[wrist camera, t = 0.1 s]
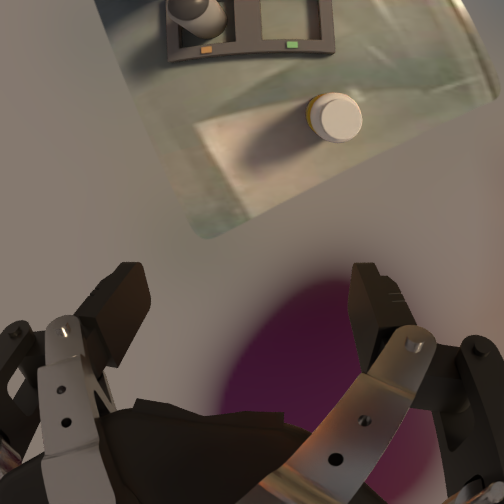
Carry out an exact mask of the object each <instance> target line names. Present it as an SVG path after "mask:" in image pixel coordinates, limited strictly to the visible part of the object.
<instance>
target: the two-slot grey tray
mask: <svg viewBox="0 0 504 504" xmlns="http://www.w3.org/2000/svg"><path fill="white" fill-rule="evenodd" d="M168 1H169V0H166V32H167V58H168V62H171V63H174V62H180V61H186V60H193V59H201V58H209V57H218V56H229V55H241V54H259V53H321V54H334V53H335V36H334V22H333V10H332V0H318V12H319V25H320V40H301V39H278V40H262V24H261V6H260V0H234V12H235V33H236V42H225V43H216V44H207V45H200V46H193V47H186V48H182V26H180V25H179V24H177V23H176V22H174V21H173V20H172V19H171V18H170V17H169V15H168V13H167V3H168Z"/></svg>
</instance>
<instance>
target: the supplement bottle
mask: <svg viewBox="0 0 504 504" xmlns="http://www.w3.org/2000/svg"><path fill="white" fill-rule="evenodd" d="M306 120H307V123H308V125H309V126H310V128H311V129H312V130H313V131H314V132H315V133H316V134H317V135H319V136H320V137H321V138H323V139H324V140H326V141H329V142H333V143H343V142H346V141H349V140H351V139H352V138H353V137H355V136H356V135H357V133H358V132H359V131H360V129H361V126H362V115H361V111H360V108H359V106H358V105H357V103H356V102H355V101H354V100H353V99H352V98H350V97H349V96H347V95H345V94H341V93H326V94H321V95H318V96H316V97H314V98H313V99H312V100H311V101H310V102H309V104H308V105H307V108H306Z"/></svg>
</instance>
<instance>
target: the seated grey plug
mask: <svg viewBox="0 0 504 504" xmlns="http://www.w3.org/2000/svg"><path fill="white" fill-rule="evenodd" d="M167 13H168V15H169V17H170V18H171V19H172V20H173V21H174V22H176V23H177V24H179V25H180V26H182V27H183V28H185V29H186V30H188V31H189V32H191V33H192V34H194V35H195V36H197V37H199V38H202V39H211V38H215V37H217V36H219V35H220V34H221V33H222V32H223V31H224V30H225V28H226V26H227V23H228V19H227V16H226V14H225V12H224V11H223V9H222V8H221V7H220V5H219V4H218V2H217V1H216V0H169V1H168V3H167Z"/></svg>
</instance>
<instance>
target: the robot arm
mask: <svg viewBox="0 0 504 504" xmlns="http://www.w3.org/2000/svg"><path fill="white" fill-rule="evenodd" d="M150 305H151V296H150V292H149V288H148V284H147V280H146V277H145V273H144V268H143V266H142V264H141V263H140V262H122V263H121V264H120V265H119V266H118V267H117V268H116V270H115V271H114V272H113V273H112V274H110V275H109V276H107V277H106V278H105V279H103V280H101V281H100V283H99V284H98V285H97V286H96V288H95V290H93V291H92V292H91V293H90V296H88V297H87V298H86V300H85V301H84V302H83V303H82V305H81V306H80V307H79V308H78V309H77V311H76V312H75V313H74V315H64V316H61V317H58V318H56V319H55V320H53V321H52V322H51V323H50V324H49V325H48V326H47V328H46V330H45V331H37V332H33V331H32V329H31V327H30V325H29V323H28V322H27V321H23V320H21V321H16V322H14V323H12V324H10V325H9V326H7V327H6V328H5V330H3V332H2V333H1V334H0V504H387V502H386V501H384V500H383V499H382V498H381V497H380V496H379V495H378V494H377V493H376V492H375V491H373V490H372V489H371V488H370V487H369V486H368V485H367V484H366V483H365V482H364V481H365V480H366V478H367V477H368V475H369V473H370V472H371V471H372V469H373V468H374V466H375V465H376V463H377V462H378V460H379V459H380V457H381V456H382V454H383V453H384V451H385V449H386V448H387V446H388V444H389V443H390V441H391V440H392V438H393V436H394V434H395V433H396V431H397V429H398V428H399V425H400V424H401V422H402V420H403V419H404V417H405V415H406V413H407V411H408V409H409V408H417V409H423V410H431V411H432V415H433V420H434V424H435V428H436V433H437V438H438V442H439V447H440V452H441V458H442V463H443V469H444V475H445V482H446V489H447V496H448V499H446V500H445V501H444V502H443V503H442V504H504V360H503V358H502V356H501V355H500V352H499V351H498V348H497V347H496V345H495V344H494V343H493V342H492V341H491V340H489V339H487V338H486V337H483V336H479V335H471V336H468V337H466V338H465V339H464V340H463V341H462V343H461V345H460V347H454V346H448V345H441V344H438V343H437V342H436V339H435V337H434V336H433V334H432V333H431V332H429V331H428V330H426V329H425V328H423V327H420V326H417V324H416V322H415V319H414V317H413V315H412V313H411V311H410V309H409V307H408V305H407V303H406V302H405V299H404V297H403V295H402V294H401V291H400V289H399V287H398V285H397V284H396V283H395V282H394V281H393V280H392V279H391V278H389V277H388V276H380V274H379V272H378V270H377V267H376V265H375V264H374V263H354V264H353V267H352V274H351V282H350V289H349V297H348V313H349V318H350V322H351V326H352V330H353V335H354V339H355V343H356V348H357V352H358V356H359V361H360V366H361V371H362V373H361V374H360V375H359V376H358V377H357V379H356V380H355V382H354V383H353V384H352V386H351V387H350V388H349V389H348V391H347V392H346V393H345V395H344V396H343V397H342V398H341V400H340V401H339V402H338V403H337V405H336V406H335V407H334V408H333V410H332V411H331V412H330V413H329V414H328V416H327V417H326V418H325V419H324V420H323V422H322V423H321V424H320V425H319V426H318V428H317V429H316V430H315V431H314V432H313V433H311V432H309V431H307V430H304V429H302V428H300V427H297V426H294V425H290V424H287V423H284V412H252V411H242V412H236V413H229V414H221V415H212V416H202V415H198V414H196V413H193V412H190V411H187V410H184V409H182V408H179V407H177V406H174V405H172V404H168V403H162V402H156V401H150V400H144V399H138V398H137V399H136V402H135V404H134V406H133V408H129V409H122V410H118V411H117V409H116V406H115V403H114V400H113V397H112V394H111V391H110V387H109V384H108V381H107V377H106V374H105V373H104V371H103V370H104V368H105V367H106V366H109V367H115V368H118V367H119V365H120V363H121V361H122V359H123V357H124V356H125V354H126V352H127V350H128V348H129V346H130V344H131V342H132V341H133V339H134V337H135V335H136V333H137V331H138V329H139V328H140V326H141V324H142V322H143V320H144V319H145V317H146V315H147V313H148V311H149V309H150ZM17 368H19V370H20V371H21V372H22V374H23V375H24V377H25V380H24V382H23V383H22V385H21V387H20V388H19V390H18V392H17V393H16V395H15V397H14V399H13V400H12V398H11V397H10V396H9V394H8V391H7V384H8V382H9V380H10V378H11V377H12V375H13V374H14V372H15V371H16V369H17ZM40 421H41V428H42V436H43V443H44V449H45V451H44V452H42V453H41V454H39V455H37V456H36V457H34V458H32V459H30V460H29V461H27V462H25V463H23V464H22V460H23V458H24V456H25V453H26V451H27V449H28V447H29V444H30V442H31V440H32V438H33V436H34V434H35V431H36V429H37V427H38V425H39V423H40Z"/></svg>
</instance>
